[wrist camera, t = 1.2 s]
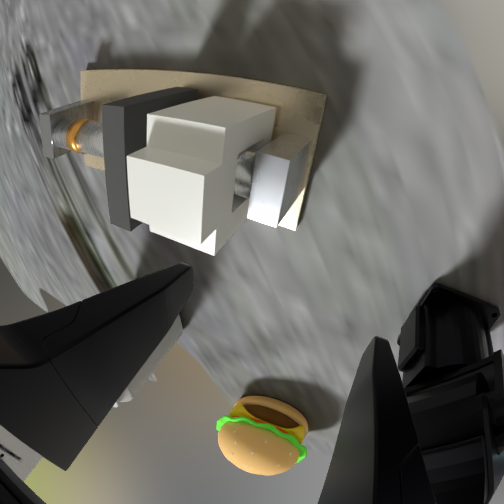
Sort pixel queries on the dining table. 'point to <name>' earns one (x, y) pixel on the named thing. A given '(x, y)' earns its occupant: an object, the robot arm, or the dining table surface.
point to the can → (152, 362)
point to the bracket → (196, 169)
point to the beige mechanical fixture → (149, 80)
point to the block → (131, 142)
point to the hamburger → (262, 435)
